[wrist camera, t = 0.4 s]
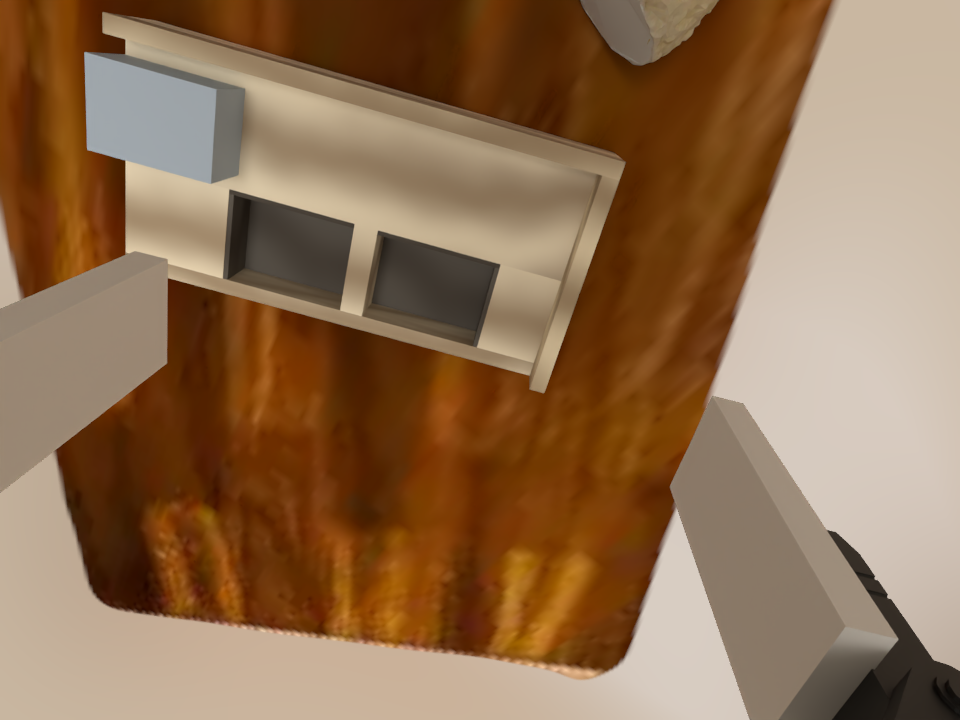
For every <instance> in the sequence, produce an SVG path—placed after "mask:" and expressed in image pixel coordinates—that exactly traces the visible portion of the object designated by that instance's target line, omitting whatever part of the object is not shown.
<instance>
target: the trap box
mask: <svg viewBox="0 0 960 720" xmlns="http://www.w3.org/2000/svg"><path fill="white" fill-rule="evenodd" d="M102 16H103V33H105V34H109V35H112V36H116V37H119V38H123V39H126V55H129V56H132V57H136V58H139V59H143V60H146V61H150V62H153V63H157V64H160V65H164V66H167V67H171V68H174V69H178V70H181V71H185V72H188V73H192V74H196V75H199V76H203V77H206V78H210V79H213V80H217V81H220V82H224V83H227V84H231V85H234V86H238V87H241V88H245V99H244V112H243V124H242V137H241V149H240V162H239V174H238V175H237V176H234V177H231V178H228V179H225V180H222V181H219V182H216V183H213V184H209V183H205V182H202V181H198V180H194V179H191V178H187V177H184V176H180V175H176V174H173V173H169V172H165V171H162V170H158V169H155V168H151V167H147V166H144V165H140V164H137V163H133V162H129V161H126V255H127V254H129V253H131V252H134V251H137V252H141V253H145V254H149V255H153V256H157V257H161V258H165V259H168V278H170V279H174V280H177V281H181V282H185V283H188V284H192V285H196V286H200V287H203V288H207V289H211V290H214V291H218V292H222V293H225V294H229V295H233V296H237V297H240V298H244V299H248V300H251V301H255V302H259V303H263V304H266V305H270V306H274V307H277V308H281V309H285V310H288V311H292V312H296V313H300V314H303V315H307V316H311V317H314V318H318V319H322V320H325V321H329V322H333V323H337V324H340V325H344V326H348V327H351V328H355V329H359V330H362V331H366V332H370V333H374V334H377V335H381V336H385V337H388V338H392V339H396V340H399V341H403V342H407V343H411V344H414V345H418V346H422V347H425V348H429V349H433V350H436V351H440V352H444V353H448V354H451V355H455V356H459V357H462V358H466V359H470V360H473V361H477V362H481V363H485V364H488V365H492V366H496V367H499V368H503V369H507V370H510V371H514V372H518V373H522V374H525V375H529V376H530V390H534V391H538V392H542V393H544V392H545V390H546V387H547V384H548V381H549V378H550V375H551V373H552V370H553V367H554V364H555V361H556V358H557V356H558V353H559V350H560V347H561V344H562V342H563V339H564V336H565V333H566V330H567V327H568V325H569V322H570V319H571V316H572V313H573V310H574V308H575V305H576V302H577V299H578V296H579V293H580V291H581V288H582V285H583V282H584V279H585V277H586V274H587V271H588V268H589V265H590V262H591V260H592V257H593V254H594V251H595V248H596V245H597V243H598V240H599V237H600V234H601V231H602V228H603V226H604V223H605V220H606V217H607V214H608V212H609V209H610V206H611V203H612V200H613V197H614V195H615V192H616V189H617V186H618V183H619V180H620V178H621V175H622V172H623V169H624V166H625V163H626V162H625V161H624V160H622V159H621V158H620V157H619V156H618V155H617V154H615V153H614V152H611V151H607V150H604V149H600V148H597V147H593V146H590V145H586V144H583V143H579V142H576V141H573V140H569V139H566V138H562V137H559V136H555V135H552V134H548V133H545V132H541V131H538V130H534V129H531V128H527V127H524V126H520V125H517V124H513V123H510V122H506V121H503V120H500V119H496V118H493V117H489V116H486V115H482V114H479V113H475V112H472V111H468V110H465V109H461V108H458V107H454V106H451V105H447V104H444V103H440V102H437V101H434V100H430V99H427V98H423V97H420V96H416V95H413V94H409V93H406V92H402V91H399V90H395V89H392V88H388V87H385V86H381V85H378V84H374V83H371V82H368V81H364V80H361V79H357V78H354V77H350V76H347V75H343V74H340V73H336V72H333V71H329V70H326V69H322V68H319V67H315V66H312V65H308V64H305V63H302V62H298V61H295V60H291V59H288V58H284V57H281V56H277V55H274V54H270V53H267V52H263V51H260V50H256V49H253V48H249V47H246V46H242V45H239V44H235V43H232V42H229V41H225V40H222V39H218V38H215V37H211V36H208V35H204V34H201V33H197V32H194V31H190V30H187V29H183V28H180V27H176V26H173V25H169V24H166V23H163V22H159V21H155V20H149V19H143V18H137V17H130V16H124V15H118V14H112V13H106V12H102Z"/></svg>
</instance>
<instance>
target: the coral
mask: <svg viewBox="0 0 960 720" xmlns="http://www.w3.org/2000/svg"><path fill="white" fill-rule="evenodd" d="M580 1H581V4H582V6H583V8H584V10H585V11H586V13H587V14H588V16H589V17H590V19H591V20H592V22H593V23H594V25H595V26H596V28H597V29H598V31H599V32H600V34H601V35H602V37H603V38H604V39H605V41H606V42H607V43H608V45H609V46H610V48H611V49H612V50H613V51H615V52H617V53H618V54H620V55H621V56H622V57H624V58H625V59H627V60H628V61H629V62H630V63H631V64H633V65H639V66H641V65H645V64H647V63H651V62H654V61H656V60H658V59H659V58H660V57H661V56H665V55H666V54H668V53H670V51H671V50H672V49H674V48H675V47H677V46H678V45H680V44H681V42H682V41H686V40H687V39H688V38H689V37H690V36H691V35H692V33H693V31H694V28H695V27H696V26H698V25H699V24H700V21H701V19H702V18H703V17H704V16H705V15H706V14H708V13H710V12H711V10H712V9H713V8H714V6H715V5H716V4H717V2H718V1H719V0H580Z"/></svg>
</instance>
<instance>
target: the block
mask: <svg viewBox="0 0 960 720" xmlns="http://www.w3.org/2000/svg"><path fill="white" fill-rule="evenodd" d="M84 53H85V89H86V125H87V150H90V151H93V152H97V153H101V154H104V155H108V156H111V157H115V158H119V159H122V160H126V161H129V162H133V163H137V164H140V165H144V166H147V167H151V168H155V169H158V170H162V171H165V172H169V173H173V174H176V175H180V176H184V177H187V178H191V179H194V180H198V181H202V182H205V183H209V184H213V183H216V182H219V181H222V180H225V179H228V178H231V177H234V176H237V175H238V174H239V162H240V149H241V137H242V124H243V112H244V99H245V88H241V87H238V86H234V85H231V84H227V83H224V82H220V81H217V80H213V79H210V78H206V77H203V76H199V75H196V74H192V73H188V72H185V71H181V70H178V69H174V68H171V67H167V66H164V65H160V64H157V63H153V62H150V61H146V60H143V59H139V58H136V57H132V56H129V55H124V54H109V53H93V52H84Z"/></svg>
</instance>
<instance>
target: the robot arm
mask: <svg viewBox="0 0 960 720" xmlns="http://www.w3.org/2000/svg"><path fill="white" fill-rule="evenodd" d="M167 285H168V259H165V258H161V257H157V256H153V255H149V254H145V253H141V252H137V251H134V252H131V253H129V254H127V255H125V256H122V257H120V258H118V259H115V260H113V261H111V262H108V263H106V264H104V265H101V266H99V267H97V268H94V269H92V270H90V271H87V272H85V273H83V274H80V275H78V276H76V277H73V278H71V279H69V280H66V281H64V282H62V283H59V284H57V285H55V286H52V287H50V288H48V289H45V290H43V291H41V292H39V293H36V294H34V295H32V296H29V297H27V298H25V299H22V300H20V301H18V302H15V303H13V304H11V305H9V306H6V307H4V308H1V309H0V492H2V491H3V490H4V489H6V488H7V487H8V486H10V485H11V484H12V483H13V482H15V481H16V480H17V479H19V478H20V477H21V476H22V475H24V474H25V473H26V472H28V471H29V470H30V469H31V468H33V467H34V466H35V465H37V464H38V463H39V462H40V461H42V460H43V459H44V458H46V457H47V456H48V455H49V454H51V453H52V452H53V451H55V450H56V449H57V448H59V447H60V446H61V445H62V444H64V443H65V442H66V441H68V440H69V439H70V438H71V437H73V436H74V435H75V434H77V433H78V432H79V431H80V430H82V429H83V428H84V427H86V426H87V425H88V424H89V423H91V422H92V421H93V420H95V419H96V418H97V417H98V416H100V415H101V414H102V413H104V412H105V411H106V410H107V409H109V408H110V407H111V406H113V405H114V404H115V403H116V402H118V401H119V400H120V399H122V398H123V397H124V396H125V395H127V394H128V393H129V392H131V391H132V390H133V389H134V388H136V387H137V386H138V385H140V384H141V383H142V382H143V381H145V380H146V379H147V378H149V377H150V376H151V375H152V374H154V373H155V372H156V371H158V370H159V369H160V368H161V367H163V366H164V365H165V364H167ZM670 489H671V492H672V495H673V498H674V501H675V504H676V507H677V509H678V512H679V515H680V518H681V521H682V524H683V527H684V530H685V533H686V536H687V538H688V541H689V544H690V547H691V550H692V553H693V556H694V559H695V562H696V565H697V568H698V570H699V573H700V576H701V579H702V582H703V585H704V588H705V591H706V594H707V597H708V600H709V603H710V605H711V608H712V611H713V614H714V617H715V620H716V623H717V626H718V629H719V632H720V634H721V637H722V640H723V643H724V646H725V649H726V652H727V655H728V658H729V661H730V663H731V666H732V669H733V672H734V675H735V678H736V681H737V684H738V687H739V690H740V693H741V696H742V699H743V701H744V704H745V707H746V710H747V713H748V716H749V719H750V720H960V671H958V670H956V669H955V668H953V667H951V666H949V665H946V664H943V663H940V662H937V661H934V660H933V659H932V658H931V656H930V655H929V653H928V652H927V650H926V649H925V647H924V646H923V644H922V643H921V642H920V640H919V639H918V637H917V636H916V634H915V633H914V632H913V630H912V629H911V627H910V626H909V624H908V623H907V621H906V620H905V619H904V617H903V616H902V614H901V613H900V612H899V610H898V609H897V607H896V606H895V604H894V603H893V601H892V600H891V599H888V598H887V595H888V594H887V593H886V591H885V590H884V589H883V587H882V586H881V584H880V583H879V581H877V580H875V579H874V577H875V576H874V574H873V573H872V571H871V570H870V568H869V567H868V565H867V564H866V563H865V561H864V560H863V559H862V557H861V555H860V554H859V553H858V552H857V551H856V550H855V549H854V548H852V547H851V546H850V545H849V544H848V543H847V542H846V541H845V540H844V539H843V538H842V537H840V536H839V535H838V534H837V533H836V532H832V531H828V530H826V528H825V527H824V526H823V524H822V522H821V521H820V519H819V518H818V516H817V515H816V513H815V512H814V510H813V509H812V507H811V506H810V504H809V503H808V501H807V500H806V498H805V497H804V495H803V494H802V492H801V490H800V489H799V487H798V486H797V485H796V483H795V482H794V480H793V478H792V477H791V475H790V474H789V472H788V471H787V469H786V468H785V466H784V465H783V463H782V462H781V460H780V459H779V457H778V456H777V454H776V453H775V451H774V450H773V448H772V447H771V445H770V444H769V442H768V441H767V439H766V437H765V436H764V434H763V433H762V432H761V430H760V428H759V427H758V425H757V424H756V422H755V421H754V419H753V418H752V416H751V415H750V413H749V412H748V410H747V409H746V408H745V406H744V404H743V403H739V402H735V401H731V400H726V399H723V398H719V397H715V396H712V398H711V400H710V402H709V404H708V406H707V408H706V411H705V413H704V415H703V417H702V419H701V421H700V423H699V425H698V428H697V430H696V432H695V434H694V436H693V438H692V440H691V443H690V445H689V447H688V449H687V451H686V453H685V455H684V457H683V460H682V462H681V464H680V466H679V468H678V470H677V472H676V474H675V477H674V479H673V481H672V483H671V485H670Z"/></svg>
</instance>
